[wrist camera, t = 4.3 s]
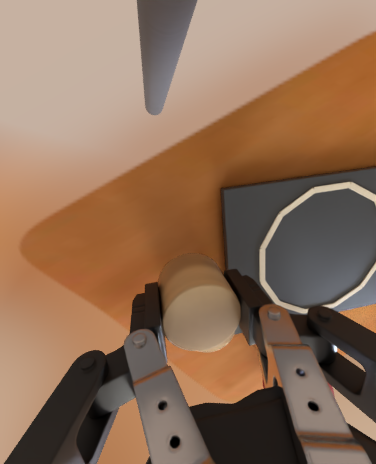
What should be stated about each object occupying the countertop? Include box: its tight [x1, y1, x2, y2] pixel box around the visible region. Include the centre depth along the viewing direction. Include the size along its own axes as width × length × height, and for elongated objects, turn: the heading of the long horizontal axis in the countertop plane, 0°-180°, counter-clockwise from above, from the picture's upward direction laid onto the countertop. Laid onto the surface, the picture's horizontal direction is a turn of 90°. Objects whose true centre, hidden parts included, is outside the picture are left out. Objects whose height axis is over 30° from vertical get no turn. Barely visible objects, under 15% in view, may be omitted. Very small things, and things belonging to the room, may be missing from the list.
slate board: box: [221, 166, 376, 334], centre depth 21 cm, size 14×18×1 cm
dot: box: [158, 253, 241, 351], centre depth 13 cm, size 4×4×4 cm
